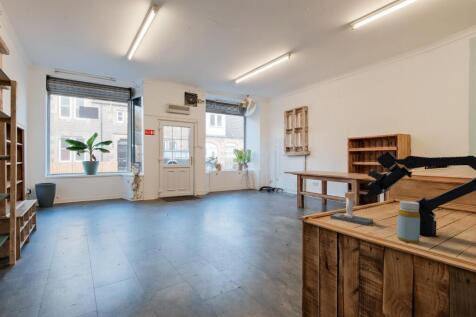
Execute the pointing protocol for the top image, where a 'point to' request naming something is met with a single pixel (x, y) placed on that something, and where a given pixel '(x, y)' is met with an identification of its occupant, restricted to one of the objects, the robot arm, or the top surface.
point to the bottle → (408, 222)
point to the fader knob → (349, 204)
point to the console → (352, 219)
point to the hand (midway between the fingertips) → (366, 197)
